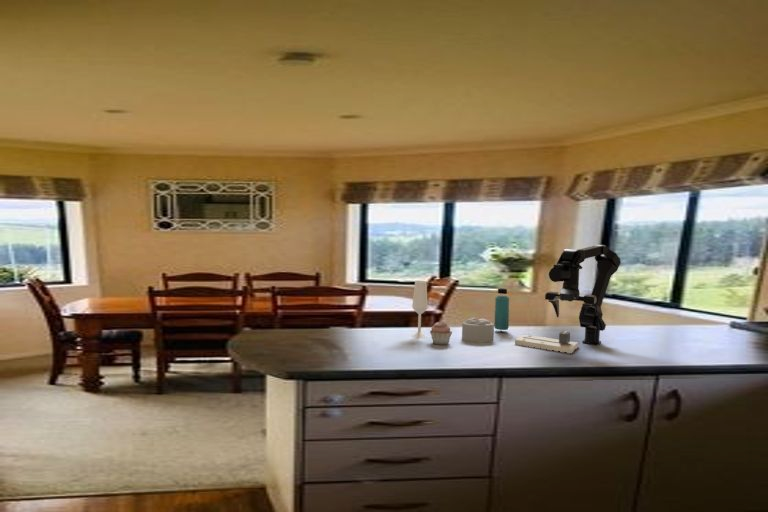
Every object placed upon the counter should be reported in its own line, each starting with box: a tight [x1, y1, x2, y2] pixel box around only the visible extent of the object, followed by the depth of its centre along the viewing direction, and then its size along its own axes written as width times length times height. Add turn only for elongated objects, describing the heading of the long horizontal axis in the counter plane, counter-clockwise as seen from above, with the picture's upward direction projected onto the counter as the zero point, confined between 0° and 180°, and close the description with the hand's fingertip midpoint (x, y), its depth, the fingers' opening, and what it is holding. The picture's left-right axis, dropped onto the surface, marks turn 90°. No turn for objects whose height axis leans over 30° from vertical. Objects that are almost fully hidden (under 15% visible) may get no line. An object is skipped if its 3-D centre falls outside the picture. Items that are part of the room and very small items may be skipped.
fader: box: [558, 330, 571, 344], centre depth 189 cm, size 5×3×4 cm, turn 146°
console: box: [514, 334, 579, 354], centre depth 193 cm, size 12×22×2 cm, turn 56°
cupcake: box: [429, 319, 453, 346], centre depth 193 cm, size 9×9×10 cm
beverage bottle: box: [493, 287, 510, 331], centre depth 216 cm, size 6×7×20 cm
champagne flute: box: [411, 280, 429, 339], centre depth 204 cm, size 7×7×24 cm
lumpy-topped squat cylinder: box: [461, 317, 495, 343], centre depth 201 cm, size 10×13×9 cm
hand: (569, 318), depth 191 cm, fingers open, 9 cm apart
